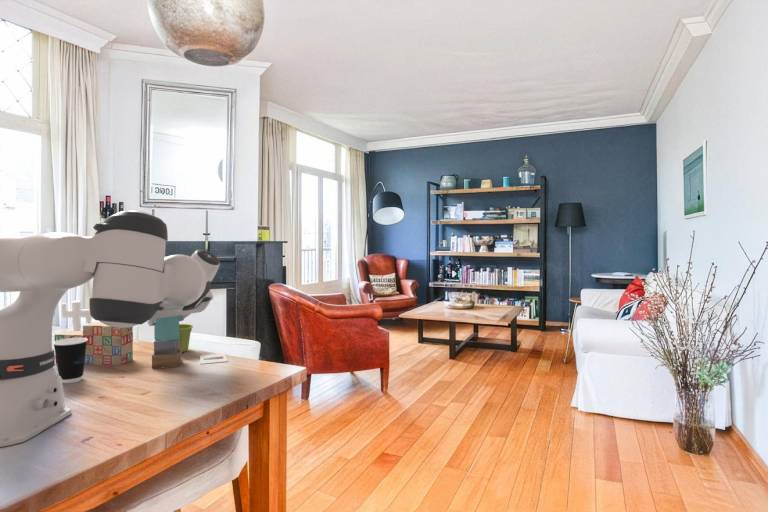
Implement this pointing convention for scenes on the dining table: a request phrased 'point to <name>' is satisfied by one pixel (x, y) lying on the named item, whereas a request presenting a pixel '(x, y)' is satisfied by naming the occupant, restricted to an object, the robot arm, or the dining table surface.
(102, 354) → the stack of blocks
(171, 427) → the dining table surface
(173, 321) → the teal brick
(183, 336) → the plant pot
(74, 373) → the dixie cup
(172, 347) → the grey-brown block
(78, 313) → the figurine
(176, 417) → the dining table surface
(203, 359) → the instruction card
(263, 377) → the dining table surface
